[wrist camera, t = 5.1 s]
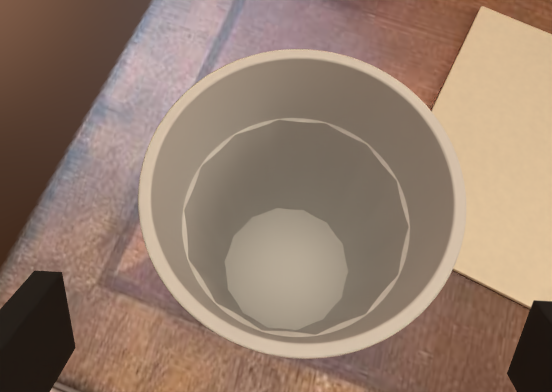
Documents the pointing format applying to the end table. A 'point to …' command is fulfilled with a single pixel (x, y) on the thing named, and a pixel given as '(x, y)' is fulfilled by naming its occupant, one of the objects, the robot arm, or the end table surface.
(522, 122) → the napkin
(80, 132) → the end table surface
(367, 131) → the cup
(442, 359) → the end table surface
